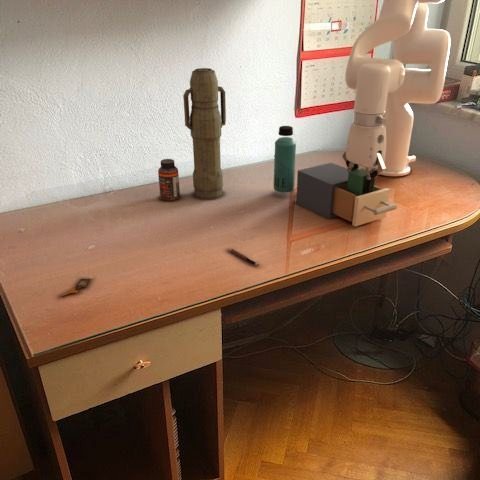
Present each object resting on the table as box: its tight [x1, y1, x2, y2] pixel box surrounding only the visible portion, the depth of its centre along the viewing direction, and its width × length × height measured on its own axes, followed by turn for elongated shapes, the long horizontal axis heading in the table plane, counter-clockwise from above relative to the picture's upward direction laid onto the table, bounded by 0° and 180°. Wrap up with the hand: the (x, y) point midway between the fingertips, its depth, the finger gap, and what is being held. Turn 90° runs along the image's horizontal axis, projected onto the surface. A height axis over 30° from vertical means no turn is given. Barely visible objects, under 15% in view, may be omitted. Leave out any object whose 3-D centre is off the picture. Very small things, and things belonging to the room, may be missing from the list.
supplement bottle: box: [157, 158, 181, 202], centre depth 158 cm, size 6×6×11 cm
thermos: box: [182, 67, 227, 200], centre depth 154 cm, size 9×12×35 cm
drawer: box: [332, 184, 398, 227], centre depth 144 cm, size 18×11×8 cm, turn 33°
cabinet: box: [295, 162, 349, 219], centre depth 152 cm, size 15×13×10 cm
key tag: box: [61, 278, 91, 297], centre depth 116 cm, size 8×3×1 cm, turn 162°
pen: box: [229, 248, 260, 267], centre depth 127 cm, size 11×1×1 cm, turn 37°
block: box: [347, 167, 376, 195], centre depth 141 cm, size 5×5×5 cm
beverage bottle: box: [273, 125, 297, 194], centre depth 158 cm, size 6×7×20 cm
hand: (360, 189), depth 143 cm, fingers closed on block, 5 cm apart
